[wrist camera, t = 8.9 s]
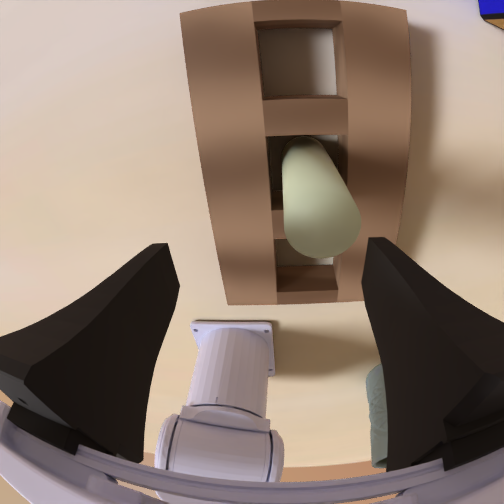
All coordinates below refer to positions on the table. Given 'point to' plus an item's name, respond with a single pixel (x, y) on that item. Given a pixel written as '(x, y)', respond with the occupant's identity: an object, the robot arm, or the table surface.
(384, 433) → the green cup
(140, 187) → the table surface
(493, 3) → the puzzle cube
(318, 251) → the sage peg
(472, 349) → the robot arm
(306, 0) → the hole block
